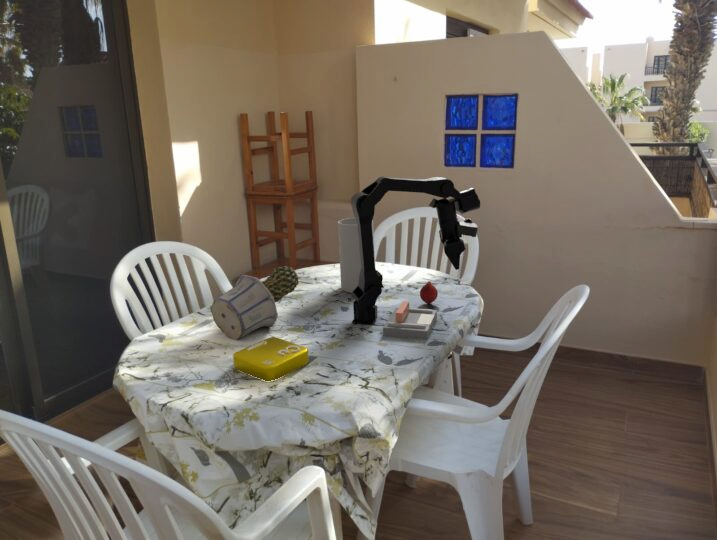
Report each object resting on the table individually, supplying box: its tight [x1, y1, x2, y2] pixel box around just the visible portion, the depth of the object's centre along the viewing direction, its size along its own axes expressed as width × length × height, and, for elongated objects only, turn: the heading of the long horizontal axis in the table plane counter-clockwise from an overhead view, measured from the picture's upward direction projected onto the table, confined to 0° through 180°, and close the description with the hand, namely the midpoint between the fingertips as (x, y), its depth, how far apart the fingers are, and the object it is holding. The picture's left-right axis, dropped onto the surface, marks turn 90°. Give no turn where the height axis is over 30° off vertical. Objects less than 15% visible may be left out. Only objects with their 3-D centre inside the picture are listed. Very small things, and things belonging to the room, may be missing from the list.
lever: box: [396, 300, 410, 322], centre depth 172 cm, size 2×10×3 cm, turn 163°
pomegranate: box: [419, 280, 439, 305], centre depth 189 cm, size 6×6×8 cm
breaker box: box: [382, 306, 438, 340], centre depth 172 cm, size 13×17×3 cm
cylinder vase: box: [337, 217, 375, 294], centre depth 205 cm, size 12×12×25 cm
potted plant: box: [210, 265, 300, 340], centre depth 175 cm, size 18×18×30 cm
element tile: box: [232, 336, 310, 381], centre depth 150 cm, size 15×15×5 cm
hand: (455, 264), depth 181 cm, fingers open, 9 cm apart
